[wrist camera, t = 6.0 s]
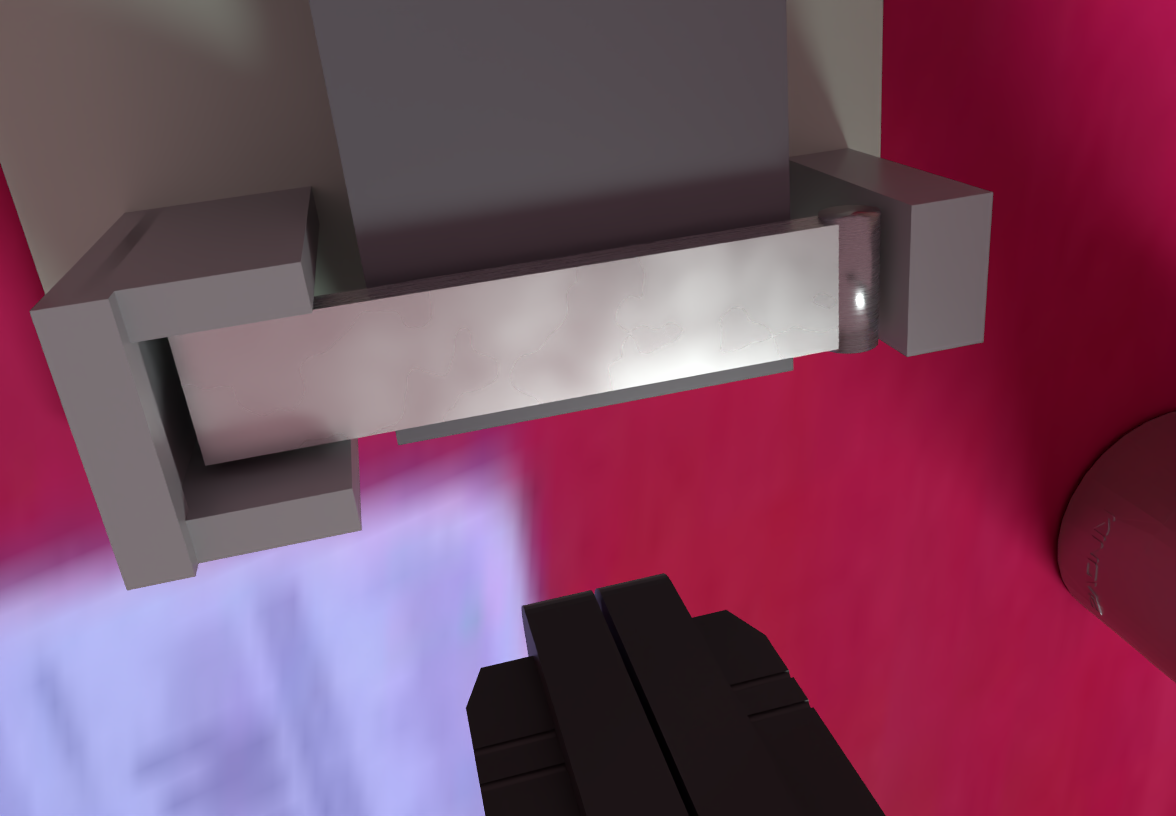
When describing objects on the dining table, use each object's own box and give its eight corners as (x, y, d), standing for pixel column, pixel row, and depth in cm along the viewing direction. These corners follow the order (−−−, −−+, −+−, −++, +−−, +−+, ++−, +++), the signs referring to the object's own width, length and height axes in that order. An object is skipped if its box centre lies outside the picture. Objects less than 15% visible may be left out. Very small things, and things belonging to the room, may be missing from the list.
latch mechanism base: (860, -455, 24) (1169, -719, 15) (854, 317, 32) (1053, 442, 23) (-170, -413, 20) (-570, -733, 11) (117, 451, 29) (16, 662, 20)
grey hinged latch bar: (847, 195, 24) (892, 213, 22) (846, 319, 25) (889, 347, 23) (180, 300, 22) (163, 331, 20) (217, 432, 23) (205, 474, 21)
